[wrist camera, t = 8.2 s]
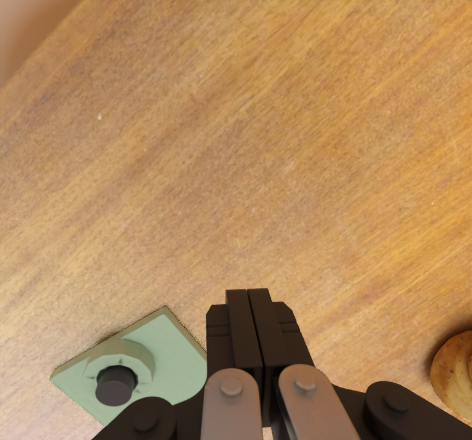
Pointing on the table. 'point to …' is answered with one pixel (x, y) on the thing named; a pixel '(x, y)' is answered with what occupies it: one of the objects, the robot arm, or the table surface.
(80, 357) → the scale
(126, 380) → the button
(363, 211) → the table surface
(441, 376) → the bread roll
